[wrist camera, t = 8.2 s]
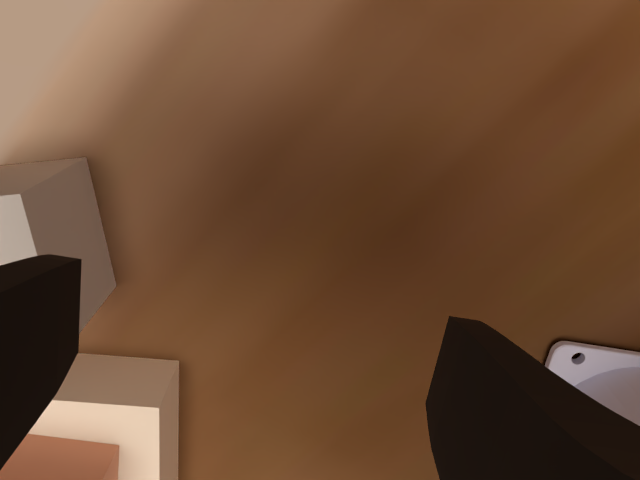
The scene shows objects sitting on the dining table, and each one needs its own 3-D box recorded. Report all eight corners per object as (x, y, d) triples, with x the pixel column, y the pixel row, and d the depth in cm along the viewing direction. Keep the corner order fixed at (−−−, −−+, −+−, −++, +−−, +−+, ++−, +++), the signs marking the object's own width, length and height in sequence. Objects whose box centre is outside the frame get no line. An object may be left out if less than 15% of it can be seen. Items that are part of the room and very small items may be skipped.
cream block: (181, 355, 24) (159, 407, 21) (179, 510, 27) (159, 578, 24) (-19, 340, 24) (-73, 390, 21) (0, 497, 27) (-46, 564, 23)
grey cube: (87, 156, 21) (19, 194, 16) (117, 285, 23) (64, 352, 18) (-51, 170, 21) (-156, 211, 17) (-11, 296, 23) (-96, 366, 18)
